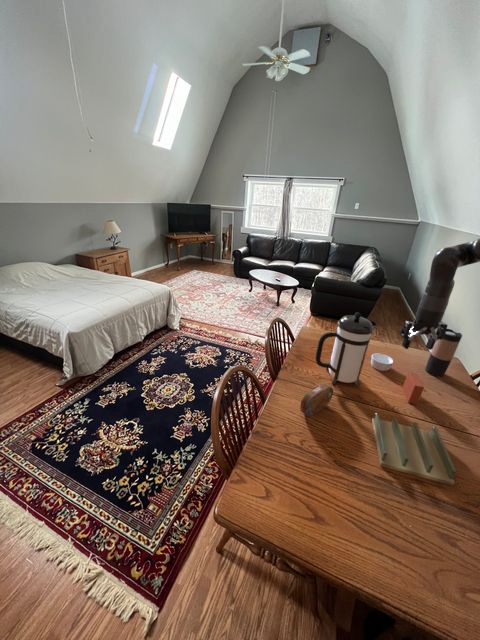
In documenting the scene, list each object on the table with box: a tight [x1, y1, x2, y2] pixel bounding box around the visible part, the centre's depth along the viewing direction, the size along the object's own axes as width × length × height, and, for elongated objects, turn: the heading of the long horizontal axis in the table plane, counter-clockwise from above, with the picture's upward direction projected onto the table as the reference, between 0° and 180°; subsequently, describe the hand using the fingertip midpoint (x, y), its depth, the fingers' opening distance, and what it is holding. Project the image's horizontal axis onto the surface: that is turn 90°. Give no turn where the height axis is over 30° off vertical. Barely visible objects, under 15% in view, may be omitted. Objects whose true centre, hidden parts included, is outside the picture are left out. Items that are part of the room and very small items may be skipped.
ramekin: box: [370, 352, 394, 372], centre depth 121 cm, size 9×9×4 cm
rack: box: [371, 412, 457, 487], centre depth 81 cm, size 18×18×4 cm
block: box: [402, 371, 425, 405], centre depth 102 cm, size 3×9×8 cm, turn 163°
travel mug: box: [424, 328, 463, 378], centre depth 115 cm, size 8×8×20 cm
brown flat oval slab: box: [299, 383, 334, 417], centre depth 94 cm, size 15×3×8 cm, turn 126°
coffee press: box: [315, 312, 375, 388], centre depth 106 cm, size 17×16×30 cm
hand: (416, 348), depth 97 cm, fingers open, 8 cm apart
